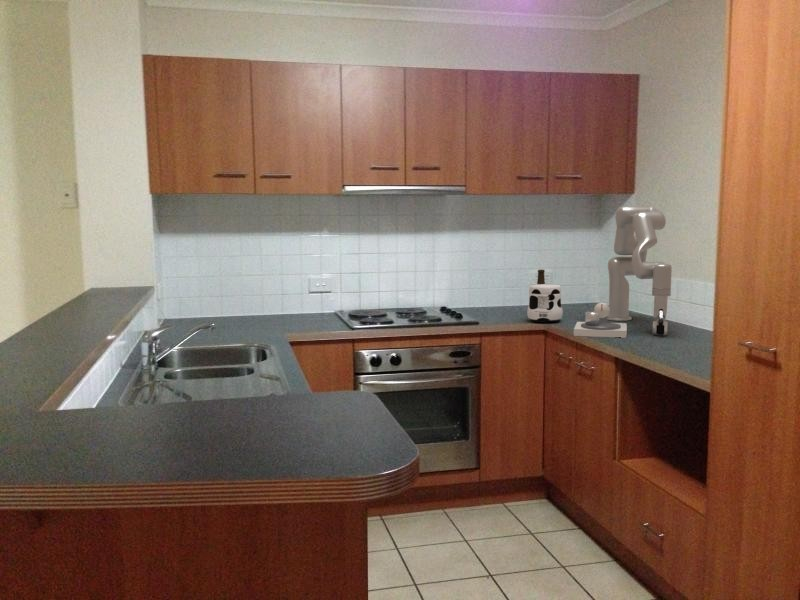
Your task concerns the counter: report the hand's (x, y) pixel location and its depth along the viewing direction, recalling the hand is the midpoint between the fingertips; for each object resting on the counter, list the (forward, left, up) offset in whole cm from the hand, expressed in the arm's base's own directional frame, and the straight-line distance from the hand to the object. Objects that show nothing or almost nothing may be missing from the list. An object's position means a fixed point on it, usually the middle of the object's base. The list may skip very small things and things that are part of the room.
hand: (659, 332), depth 298 cm
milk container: (-28, -53, -1) cm, 60 cm away
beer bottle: (-53, -58, -1) cm, 78 cm away
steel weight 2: (0, 0, -1) cm, 1 cm away
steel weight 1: (+2, -28, +3) cm, 29 cm away
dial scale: (0, -25, -1) cm, 25 cm away
